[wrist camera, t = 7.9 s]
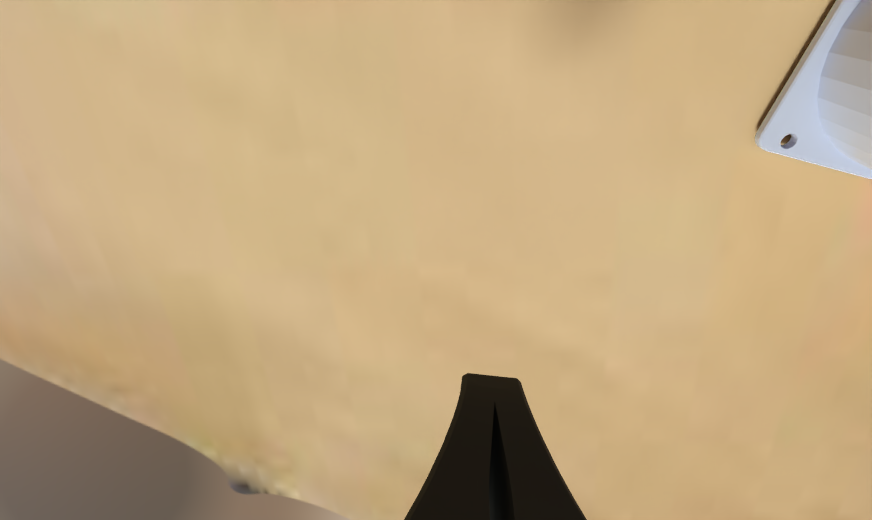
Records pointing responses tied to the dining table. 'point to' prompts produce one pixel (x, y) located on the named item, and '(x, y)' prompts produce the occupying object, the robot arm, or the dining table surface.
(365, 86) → the dining table surface
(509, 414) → the robot arm
